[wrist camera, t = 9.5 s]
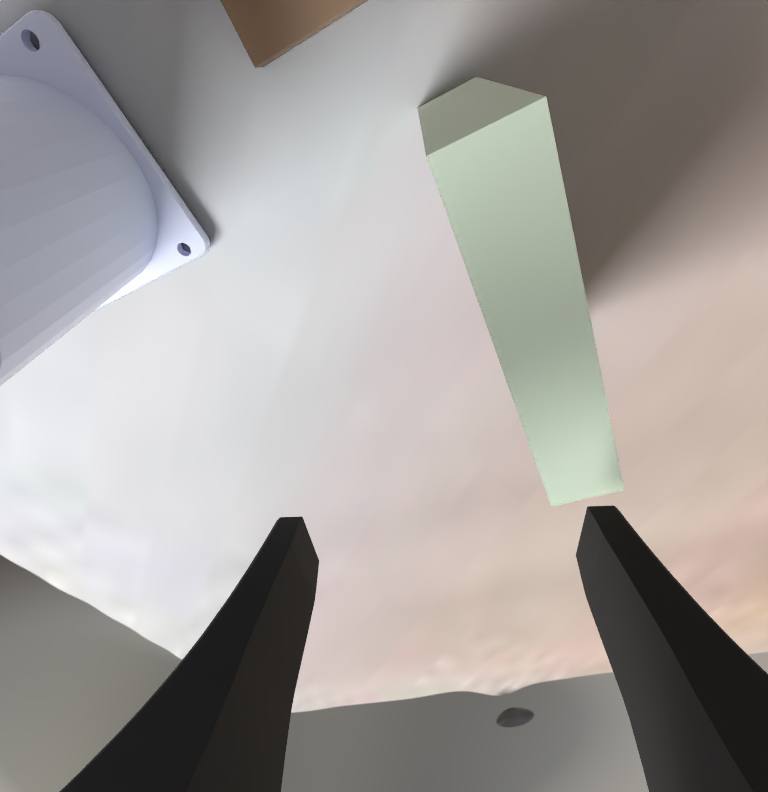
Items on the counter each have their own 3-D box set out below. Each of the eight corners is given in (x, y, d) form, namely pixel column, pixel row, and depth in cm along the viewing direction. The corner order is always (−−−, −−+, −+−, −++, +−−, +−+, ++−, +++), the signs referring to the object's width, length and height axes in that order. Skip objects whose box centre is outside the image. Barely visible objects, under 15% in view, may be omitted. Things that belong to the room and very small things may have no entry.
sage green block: (500, 346, 20) (551, 506, 13) (417, 107, 14) (426, 155, 7) (544, 331, 19) (624, 489, 12) (475, 76, 14) (546, 96, 7)
